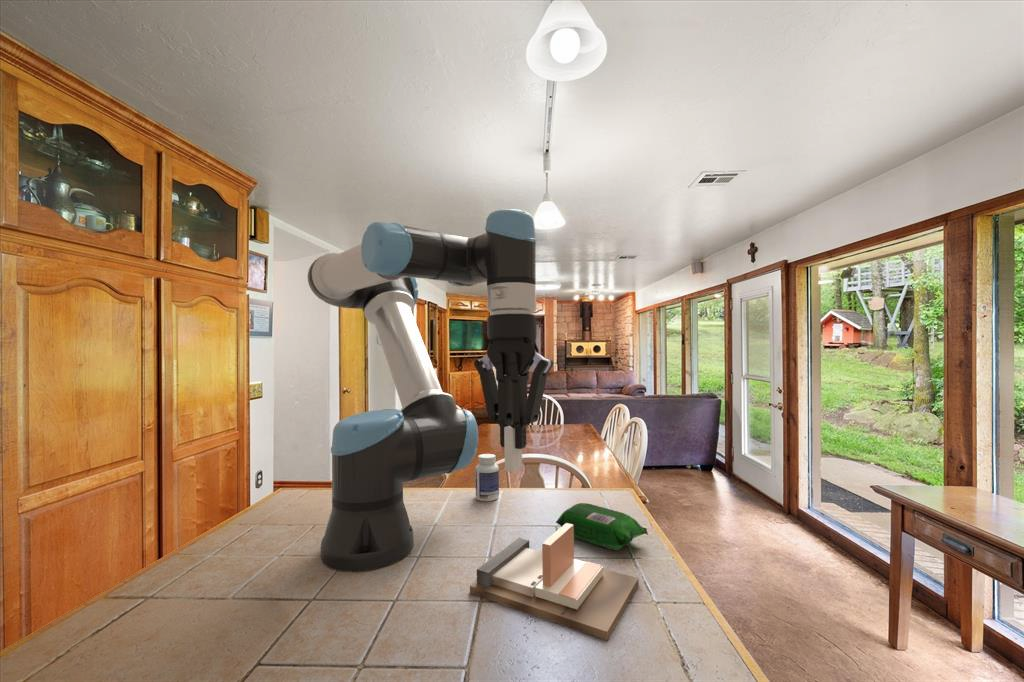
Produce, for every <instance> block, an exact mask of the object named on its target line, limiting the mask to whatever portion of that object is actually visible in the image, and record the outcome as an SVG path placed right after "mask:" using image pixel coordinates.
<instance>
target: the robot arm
mask: <svg viewBox="0 0 1024 682" xmlns="http://www.w3.org/2000/svg"><path fill="white" fill-rule="evenodd" d="M485 223H486V224H485V227H484V230H485V232H484V233H482V234H480V235H477V236H475V237H465V236H460V235H455V234H451V233H450V234H448V233H443V232H439V231H432V230H427V229H422V228H417V227H413V226H407V225H402V224H400V223H397V222H382V221H381V222H380V221H374V222H372V223H370V224H369V225H368V226H367V227H366V231H364V233H363V235H362V240H361V243H360V244H357V245H355V246H352V247H351V248H349V249H346V250H344V251H342V252H340V253H338V252H331V253H330V252H329V253H326V254H324V255H321V256H319V257H318V258H317V259H315V260H314V261H313V262H312V263H311V265H310V266H309V268H308V271H307V272H308V273H307V283H308V286H309V288H310V290H311V291H312V293H313V294H314V295H315V296H316V297H317V298H318V299H319V300H321V301H322V302H324V303H326V304H328V305H330V306H333V307H337V308H343V309H358V310H359V309H360V310H362V311H363V314H364V317H365V319H366V320H367V321H368V323H370V324H372V325H375V328H376V332H377V335H378V338H379V340H380V345H381V347H382V349H383V353H384V356H385V359H386V362H387V365H388V368H389V372H390V374H391V377H392V381H393V384H394V387H395V390H396V392H397V396H398V399H399V401H400V404H401V409H396V408H386V409H385V408H384V409H379V410H377V409H375V410H368V411H364V412H360V413H356V414H352V415H349V416H347V417H344V418H342V419H341V420H339V421H337V423H336V424H335V425H334V426H333V427H334V428H333V430H332V440H331V446H330V453H331V481H332V482H331V504H332V505H331V511H330V515H329V518H328V522H327V525H326V528H325V531H324V536H323V538H322V540H321V543H320V561H321V563H322V564H323V565H324V566H326V567H328V568H330V569H332V570H337V571H345V572H360V571H361V572H362V571H363V572H364V571H369V570H375V569H379V568H383V567H386V566H389V565H391V564H394V563H396V562H398V561H400V560H402V559H404V558H405V557H407V556H408V555H409V554H410V553H411V551H413V549H414V543H415V542H414V540H415V539H414V529H413V527H412V524H411V523H410V522H411V521H410V519H409V515H408V511H407V509H406V505H405V503H404V483H405V482H410V481H416V480H420V479H424V478H430V477H434V476H439V475H440V476H441V475H444V474H447V475H448V474H451V473H453V472H455V471H459V470H462V469H465V468H467V467H468V466H469V465H470V464H471V463H472V462H473V461H474V458H475V456H476V454H477V451H478V445H479V429H478V428H479V427H478V424H477V420H476V417H475V416H474V414H473V413H472V412H471V410H468V409H466V408H460V409H459V408H458V407H457V404H456V402H455V401H456V400H454V397H453V396H452V395H451V394H450V393H447V392H443V389H442V387H441V384H440V382H439V379H438V376H437V373H436V371H435V368H434V367H433V364H432V360H431V358H430V355H429V353H428V350H427V348H426V346H425V343H424V341H423V339H422V335H421V333H420V330H419V328H418V326H417V323H416V320H415V317H414V316H413V311H414V310H415V306H416V305H417V303H418V302H417V301H418V300H419V297H418V296H419V290H418V287H419V284H418V280H417V279H428V280H434V281H440V282H441V281H442V282H448V283H449V284H451V285H452V286H455V287H473V286H474V285H477V284H482V283H486V301H487V302H486V303H487V304H486V307H487V312H488V313H491V314H490V315H488V317H487V318H486V323H487V324H486V327H487V333H486V334H487V335H486V336H487V340H488V343H489V344H488V347H487V349H486V354H484V356H483V357H481V358H480V359H475V360H474V362H473V365H474V368H475V369H476V371H477V372H478V375H479V378H480V383H481V389H482V393H483V398H484V402H485V403H484V404H485V406H486V407H485V408H486V413H487V417H488V420H489V421H490V422H494V423H496V424H498V426H499V438H500V439H499V443H500V447H501V448H503V449H504V471H505V472H510V473H515V472H517V471H518V470H521V469H522V468H523V449H524V448H526V447H527V427H528V425H530V424H534V423H535V422H538V420H539V417H540V412H541V407H542V402H543V396H544V392H545V386H546V382H547V379H548V374H549V372H550V371H551V369H552V368H553V365H554V361H553V360H552V359H551V358H550V359H548V358H546V357H544V356H543V355H541V354H540V350H539V347H538V346H537V341H536V340H537V336H538V335H537V334H538V333H537V332H538V331H537V317H536V316H535V314H533V313H534V312H536V311H537V290H536V289H537V285H536V283H537V282H536V280H537V279H536V278H537V276H536V274H537V273H536V262H537V261H536V246H537V245H536V243H537V239H536V228H535V227H536V226H535V219H534V217H533V215H532V214H531V213H529V212H528V211H525V210H521V209H515V208H513V209H512V208H505V209H498V210H494V211H491V212H490V213H489V214H488V216H487V218H486V222H485ZM532 366H533V369H534V370H533V373H532V375H531V379H530V385H529V390H528V381H529V378H530V377H529V375H530V374H529V370H530V369H531V368H532ZM494 369H495V372H494Z"/></svg>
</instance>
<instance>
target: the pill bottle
mask: <svg viewBox="0 0 1024 682" xmlns="http://www.w3.org/2000/svg"><path fill="white" fill-rule="evenodd" d="M477 459H478V461H477V462H478V464H477V465H476V466H475V498H476V500H478V501H481V502H492V501H495V500H496V501H497V500H498V499H499V497H500V486H499V485H500V469H499V468H500V467H499V465H498V464H497V463H496V459H497V457H496V455H495V454H493V453H483V454H479V455H478V458H477Z"/></svg>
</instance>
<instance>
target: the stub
mask: <svg viewBox="0 0 1024 682" xmlns="http://www.w3.org/2000/svg"><path fill="white" fill-rule="evenodd" d="M574 540H575V537H574V525H573V524H569V523H566V524H564V525H563V526H562V527H561V526H560V527H559V529H557V530H556V531H555V532H553V534H551V535H550V536H549V537H548V538H547V539H546V540H544V541H543V542H542V545H541V546H542V551H541V552H542V569H543V580H542V581H541V582H540V583H539V584H538V585H537V586H536V587H535V596H536V597H539V598H542V599H545V600H548V601H552V602H555V603H558V604H561V605H564V606H567V607H570V608H573V609H578V608H579V607H580V605H581V604H582V603H583V601H584V600H585V598H586V597H587V596H588V594H589V593H590V592H591V590H592V589H593V588H594V586H595V585H596V584H597V582H598V581H599V580H600V578H601V577H602V576H603V569H604V566H603V565H602V564H598V563H594V562H591V561H584V560H580V559H576V558H575V541H574Z"/></svg>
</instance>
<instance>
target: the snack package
mask: <svg viewBox="0 0 1024 682" xmlns="http://www.w3.org/2000/svg"><path fill="white" fill-rule="evenodd" d="M555 523H556V524H557V525H559V526H560V528H561V527H562V526H563V525H564V524H566V523H569V524H573V525H574V539H575V538H576V539H577V540H582V541H583V542H584V541H585V542H588V543H590V544H592V545H593V544H594V545H597V546H599V547H603V548H607V549H608V550H615V551H618V550H620V549H622V548H623V547H624V546H627V545H629V544H631V542H632V541H633V540H634V539H635V538H637V537H640V536H643V535H647V536H648V535H649V533H648V531H647V528H646V527H643V526H642V525H640V523H639V522H638V521H637V520H636V519H635V518H634V517H632V516H631V515H629V514H626V513H625V512H621V511H617V510H613V509H610V508H607V507H603V506H598V505H596V504H591V503H587V502H580V503H576V504H574V505H572V506H571V507H569V508H567V509H566V510H564V511H563V512H562V513H561V515H560V516H559V517H558V519H556V521H555Z"/></svg>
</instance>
